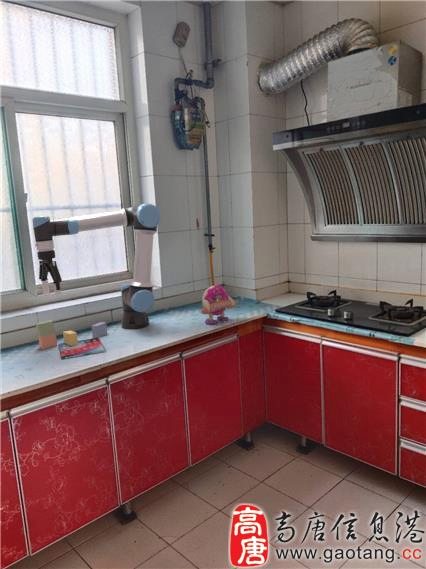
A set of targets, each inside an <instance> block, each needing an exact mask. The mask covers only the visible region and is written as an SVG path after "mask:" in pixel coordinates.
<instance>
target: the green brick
mask: <svg viewBox="0 0 426 569" xmlns="http://www.w3.org/2000/svg"><path fill="white" fill-rule="evenodd" d="M34 324H35V330H36V336H37V337H38V336H39V337H42V336H46V335H50V334H54V333H56V332H55V326H54V320H51V319H49V320H44V321H40V322H35V323H34Z"/></svg>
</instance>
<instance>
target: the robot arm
mask: <svg viewBox="0 0 426 569" xmlns="http://www.w3.org/2000/svg"><path fill="white" fill-rule="evenodd" d="M161 217H162V214H161V211H160V210H159V208H158V207H157V206H156V205H154V204H152V203H148V202H147V203H141V204H140V203H139V204H137V205H133V206H128V207H125V208H121V209H120V210H117V211H110V212H101V213H96V214H94V213H93V214H87V215H81V216H79V215H78V216H72V217H64V218H57V219H51V218H50V216H49V215H41V216H34V217H33V218H32V229H33V234H34V241H35V244H34V246H35V247H36V251H37V254H36V255H37V258H38V260H39V268H38V270H39V272H38V279H39V280H40V281H41V287H42V291H43V292H42V293H43V295H44V296H45V295H51V294H50V287H49V286H50V285H49V279H48V276H49V275H50V277H51V279H52V281H53V282H52V284H53V290H54V297H55V298H56V299H57V298H62V297H63V294H62V289H61V288H62V287H61V282H63V279H62V277H61V273H60V271H59V268H58V265H57V261H56V260H54V261H53V259H56V252H55V251H56V250H54V249H55V244H54V238H53V237H58V236H60V237H61V236H69V235H70V236H72V235H73V236H74V235H78V234H79V233H81V232H86V231H87V232H88V231H93V230H94V231H96V230H101V229H109V228H115V227H116V228H117V227H122V226H123V227H124V228H128V227H129V228H130V227H133V232H134V233H135V247H134V260H133V263H134V264H133V276H132V277H133V278H132V281H131V282H130V283H126V284H125V283H124V284H122V285H121V286H120V293H121V303H122V311H123V312H122V316H121V320H120V321H121V322H120V325H121V326H120V327H121V328H122V329H126V330H135V329H141V328H146V327H148V326H149V325H150V319H149V317H148V316H149V315H148V314H147V312H148V311H150V310H151V309H152V308H153V307H154V305H155V302H156V300H155V299H156V298H155V295H154V293H153V289H154V285H153V284H152V283H151V277H152V276H151V275H152V262H153V261H152V260H153V247H154V235H155V234H156V233H157V232H158V225H159V224H160V221H161V219H162V218H161Z"/></svg>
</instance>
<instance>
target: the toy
mask: <svg viewBox="0 0 426 569" xmlns="http://www.w3.org/2000/svg"><path fill="white" fill-rule="evenodd" d="M215 297H216V301H214V299H215ZM201 304H202V309H201V311H200V313H201V314H202V315H208V318H206V319H205V324H206V325H208V326H215V324H216V325H217V324H218V322H219V321H221V322H220V323H225V322H224V321H227V322H228V321H229V319H230V318H229V316H225V311H226V309H232V308H235V307H236V306H238V302H237V301H236V300H234V299H233V298H232V297H231V296H230V295H229V294H228V291H226V289H225V287H223V286H220V285H218V284H215V285H212V286H209V287H208V288H207V289H206V290H205V291H204V293H203V294H202V300H201ZM214 316H217V317H216V319H214Z"/></svg>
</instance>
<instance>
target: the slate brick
mask: <svg viewBox="0 0 426 569" xmlns="http://www.w3.org/2000/svg"><path fill="white" fill-rule="evenodd" d="M90 327H91V332H92V333H91V335H92V338H101V337H104V336H105V335H107V334H108V329H107V328H108V326H107V322H104V321H103V322H102V321H100V322H98V323H95V324H92V325H91V326H90Z"/></svg>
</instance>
